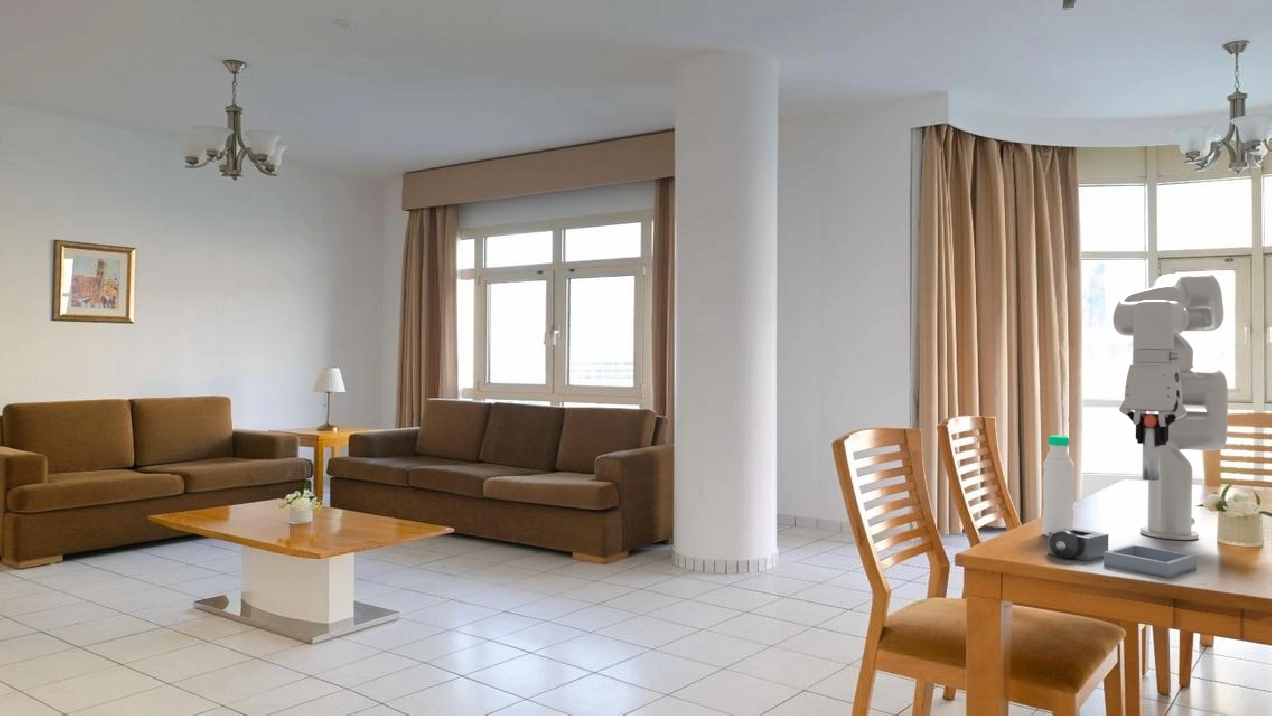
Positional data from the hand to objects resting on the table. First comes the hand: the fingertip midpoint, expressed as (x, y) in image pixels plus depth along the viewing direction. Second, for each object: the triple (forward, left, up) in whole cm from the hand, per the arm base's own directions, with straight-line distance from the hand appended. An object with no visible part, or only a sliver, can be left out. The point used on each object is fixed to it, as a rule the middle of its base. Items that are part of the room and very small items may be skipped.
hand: (1151, 443), depth 191 cm
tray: (0, 0, -27) cm, 27 cm away
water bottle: (-16, -29, -27) cm, 43 cm away
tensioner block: (+2, -15, -27) cm, 31 cm away
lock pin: (0, 0, -8) cm, 8 cm away
